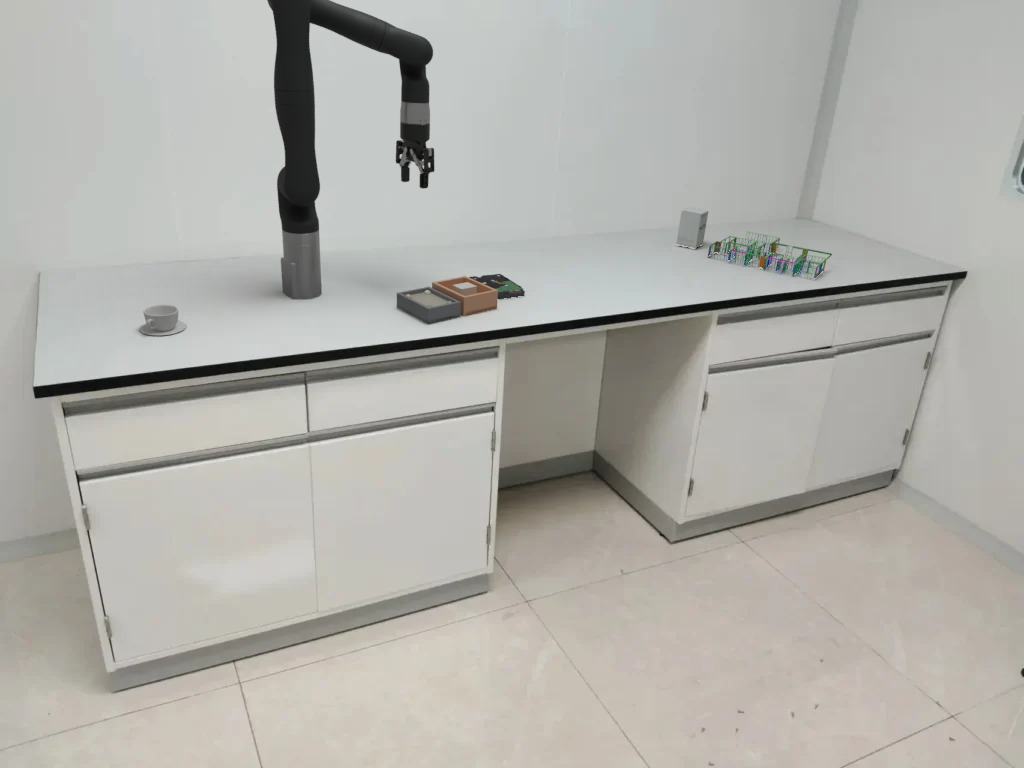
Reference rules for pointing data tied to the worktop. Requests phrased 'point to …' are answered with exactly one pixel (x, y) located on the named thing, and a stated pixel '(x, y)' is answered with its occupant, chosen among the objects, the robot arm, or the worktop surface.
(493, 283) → the disk drive
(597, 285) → the worktop surface
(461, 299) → the terracotta bin
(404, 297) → the gravel bin
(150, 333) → the teacup
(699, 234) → the supplement box
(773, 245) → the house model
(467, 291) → the gray rectangular block
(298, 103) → the robot arm
